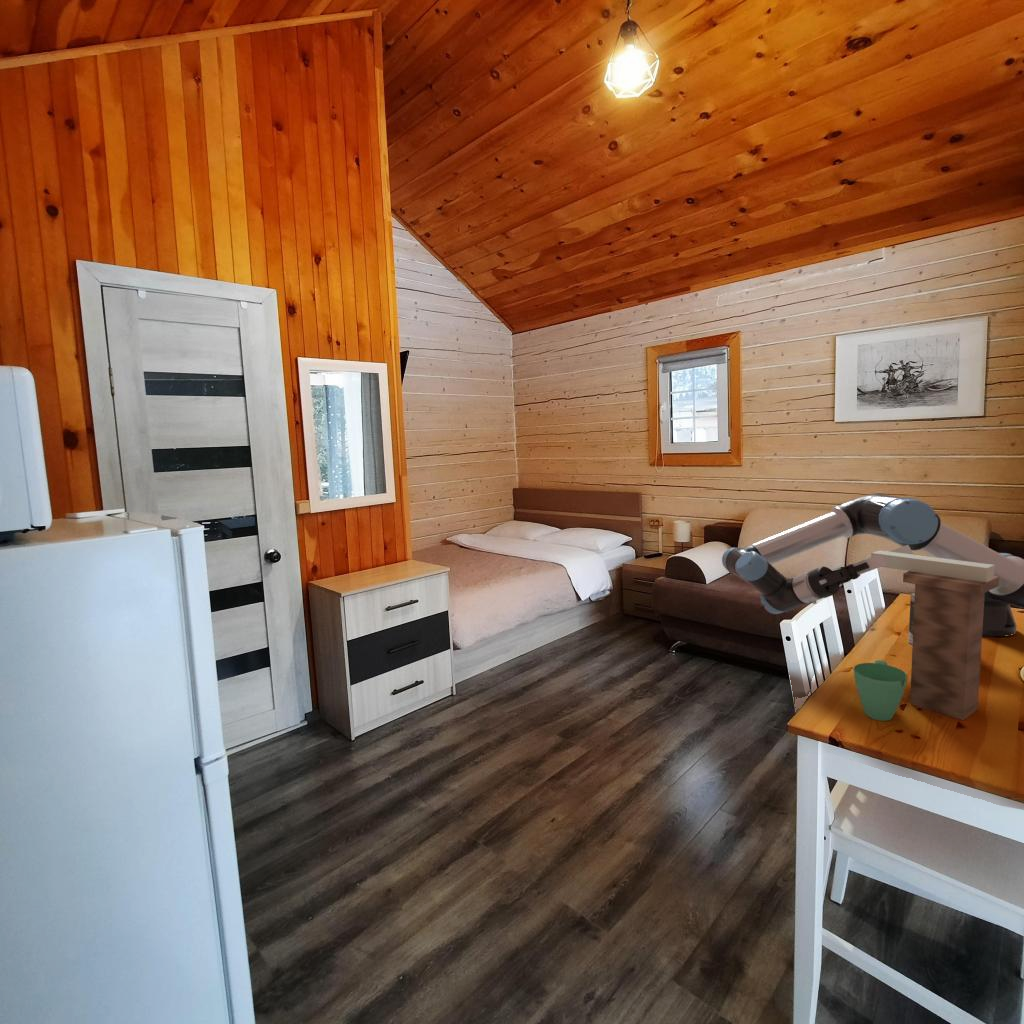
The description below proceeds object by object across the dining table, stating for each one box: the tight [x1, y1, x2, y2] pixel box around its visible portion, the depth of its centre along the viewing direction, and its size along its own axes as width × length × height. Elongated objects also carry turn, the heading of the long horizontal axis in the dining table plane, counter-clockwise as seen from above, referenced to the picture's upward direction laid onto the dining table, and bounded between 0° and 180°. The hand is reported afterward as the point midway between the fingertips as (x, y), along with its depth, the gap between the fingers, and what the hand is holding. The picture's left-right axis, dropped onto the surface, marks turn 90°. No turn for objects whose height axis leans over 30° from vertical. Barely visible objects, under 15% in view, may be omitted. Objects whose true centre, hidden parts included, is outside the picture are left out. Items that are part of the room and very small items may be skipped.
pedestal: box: [902, 571, 999, 721], centre depth 126 cm, size 14×10×30 cm
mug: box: [853, 659, 909, 722], centre depth 127 cm, size 15×10×10 cm
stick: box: [870, 549, 995, 582], centre depth 128 cm, size 22×4×3 cm, turn 34°
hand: (897, 554), depth 133 cm, fingers open, 13 cm apart
